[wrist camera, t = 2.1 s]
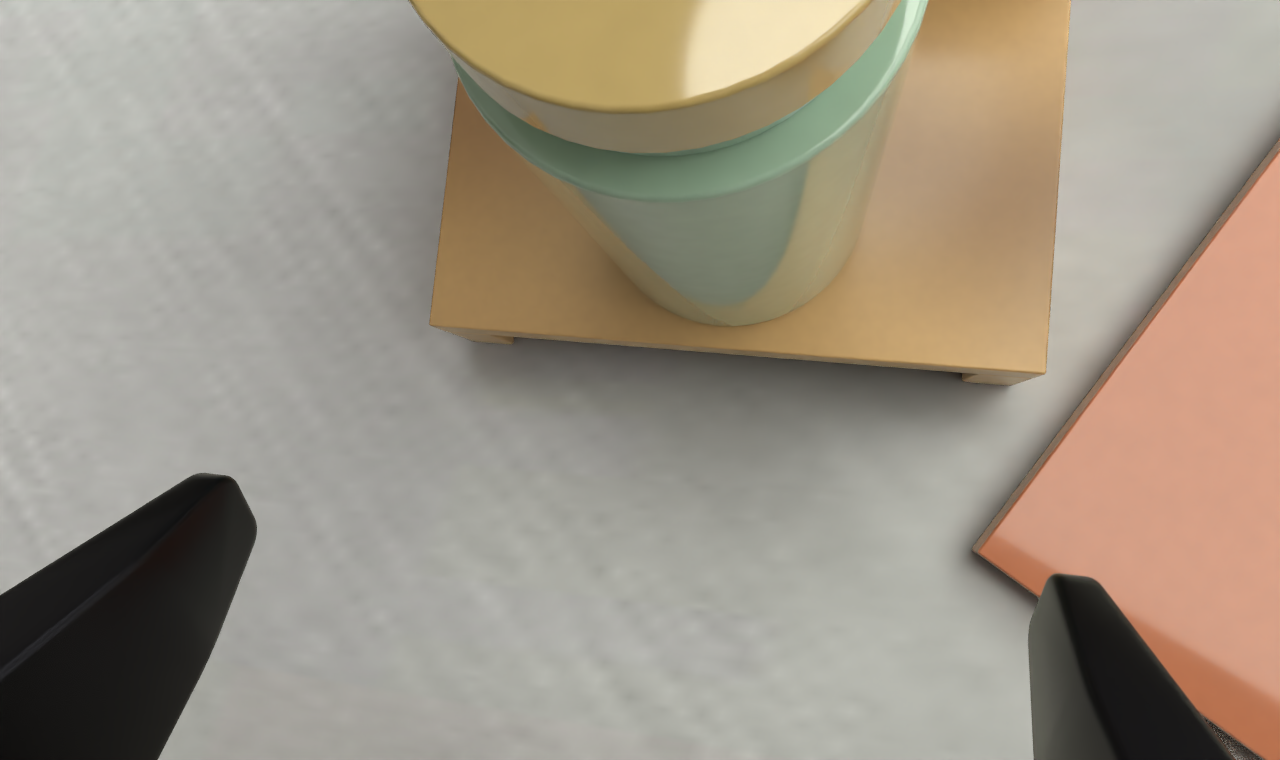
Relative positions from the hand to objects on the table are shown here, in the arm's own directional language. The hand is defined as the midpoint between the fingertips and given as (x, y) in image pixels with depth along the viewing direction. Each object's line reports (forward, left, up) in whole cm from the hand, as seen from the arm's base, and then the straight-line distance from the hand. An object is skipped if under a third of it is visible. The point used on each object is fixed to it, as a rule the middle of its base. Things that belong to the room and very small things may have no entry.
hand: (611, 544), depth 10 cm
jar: (+3, +6, -10) cm, 12 cm away
